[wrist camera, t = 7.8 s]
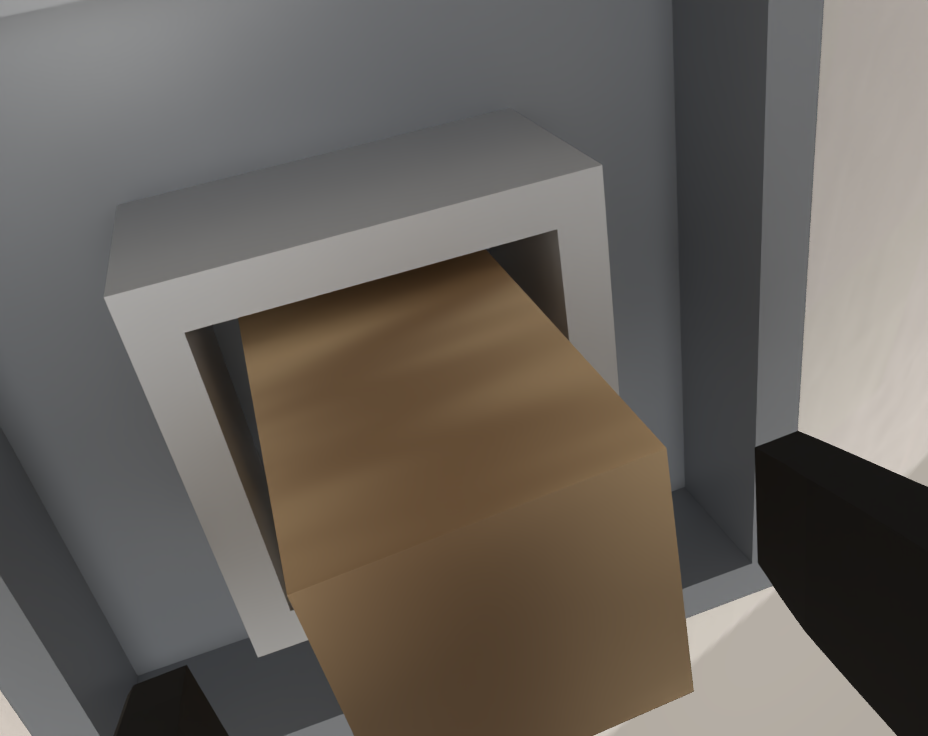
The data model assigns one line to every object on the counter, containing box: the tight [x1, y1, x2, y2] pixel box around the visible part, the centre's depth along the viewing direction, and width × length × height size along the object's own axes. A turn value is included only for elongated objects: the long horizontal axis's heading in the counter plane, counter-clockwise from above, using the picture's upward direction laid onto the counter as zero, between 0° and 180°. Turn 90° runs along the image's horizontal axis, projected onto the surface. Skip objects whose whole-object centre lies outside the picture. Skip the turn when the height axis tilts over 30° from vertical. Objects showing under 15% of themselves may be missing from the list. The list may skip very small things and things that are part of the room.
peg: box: [238, 249, 694, 736], centre depth 13 cm, size 4×4×9 cm
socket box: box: [0, 0, 824, 736], centre depth 16 cm, size 16×16×5 cm
